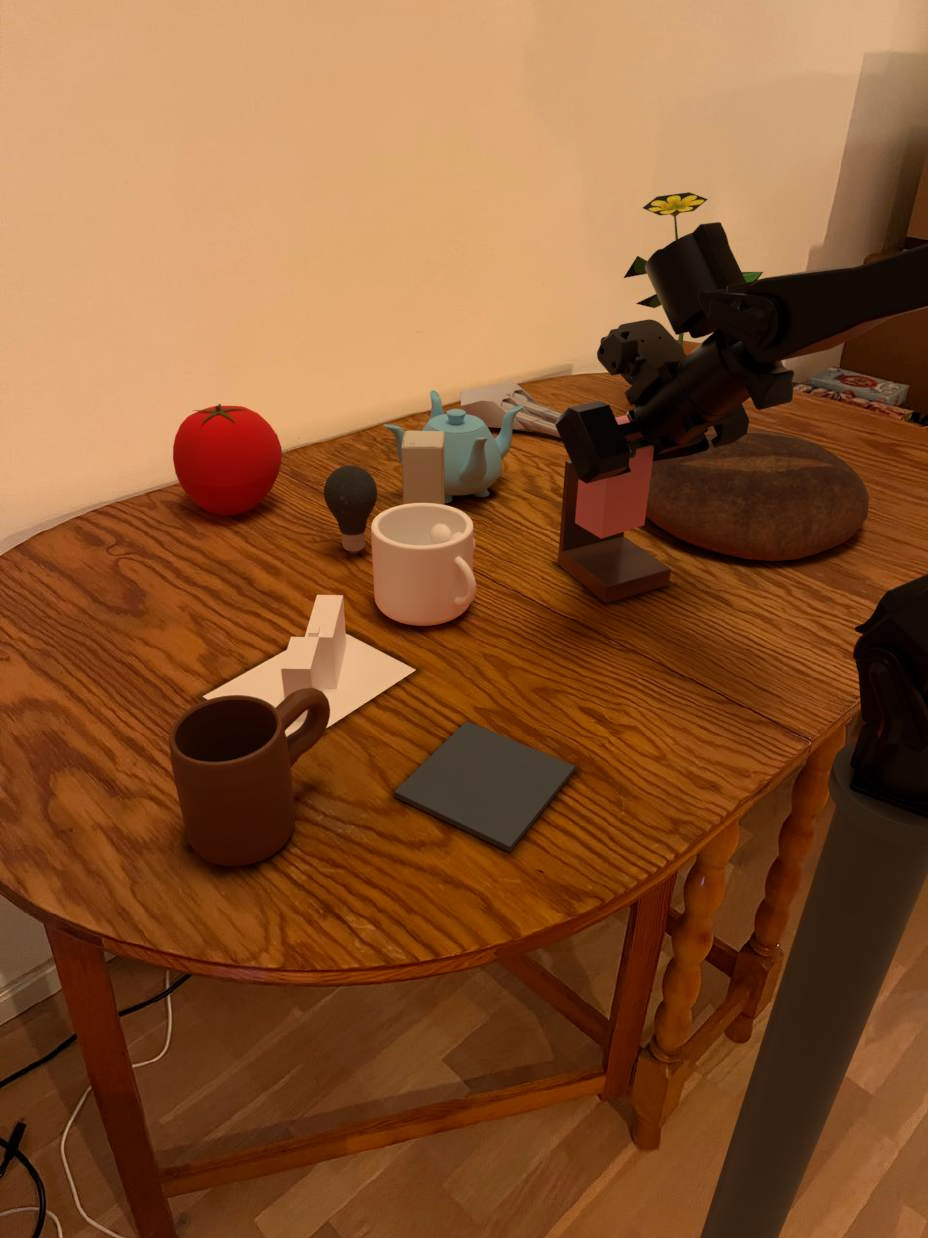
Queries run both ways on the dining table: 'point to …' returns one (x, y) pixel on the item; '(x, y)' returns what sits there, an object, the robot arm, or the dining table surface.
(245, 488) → the tomato
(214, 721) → the mug
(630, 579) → the dark brown bookend
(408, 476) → the box
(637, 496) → the block
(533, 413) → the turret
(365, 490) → the light bulb
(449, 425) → the teapot
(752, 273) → the potted plant
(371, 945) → the dining table surface
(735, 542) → the bread
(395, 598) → the mug
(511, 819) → the mat
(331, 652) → the napkin holder
